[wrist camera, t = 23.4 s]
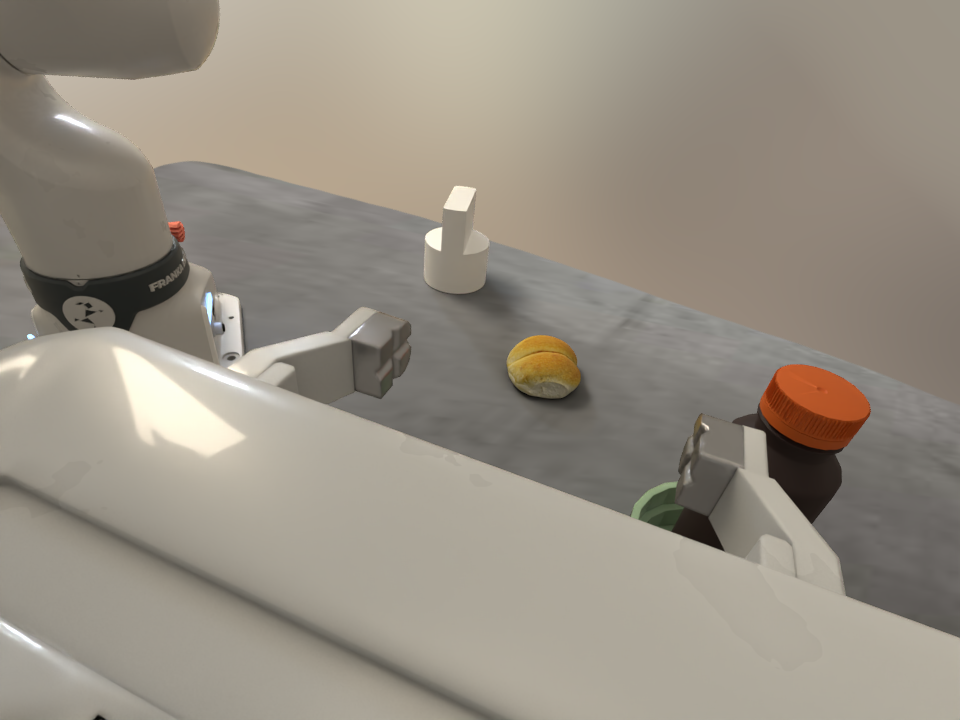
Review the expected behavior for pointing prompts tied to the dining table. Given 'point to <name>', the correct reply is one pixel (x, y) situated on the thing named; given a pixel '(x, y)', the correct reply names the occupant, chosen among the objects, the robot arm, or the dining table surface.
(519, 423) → the dining table surface
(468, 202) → the cylinder with rectangular tab
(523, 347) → the bread roll
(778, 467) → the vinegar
